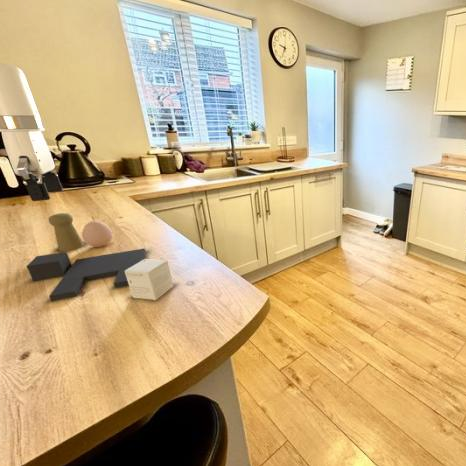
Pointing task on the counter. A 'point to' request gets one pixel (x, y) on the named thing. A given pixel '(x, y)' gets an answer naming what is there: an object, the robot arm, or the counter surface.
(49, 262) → the foam pad
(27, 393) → the counter surface
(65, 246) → the olive pepper mill
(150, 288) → the product box
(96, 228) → the egg
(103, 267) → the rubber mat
